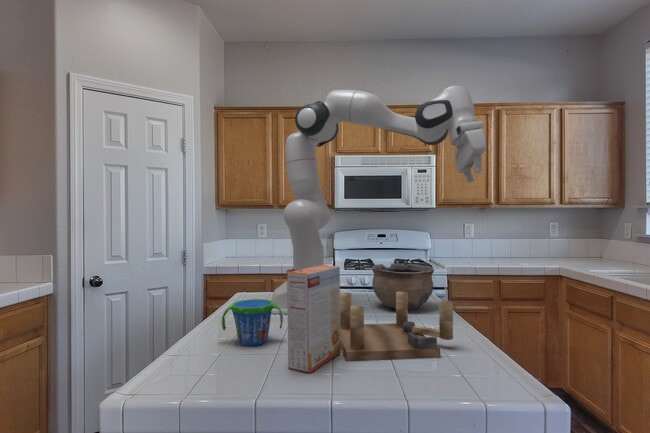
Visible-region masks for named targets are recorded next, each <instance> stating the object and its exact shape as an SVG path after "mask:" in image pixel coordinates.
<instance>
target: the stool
mask: <svg viewBox="0 0 650 433" xmlns="http://www.w3.org/2000/svg"><path fill="white" fill-rule="evenodd" d="M408 310H409V309H408V293H407V292H396V309H395V315H396V316H395V323H393V322H392V323H367V324H366V323H365V307H364V306H363V305H359V304H358V305H352V293H351V292H340V332H341V352H342V354H343V356H344V358H345V361H346V362H355V361H356V362H357V361H359V362H361V361H379V360H380V361H381V360H384V361H385V360H405V359H427V358H429V359H430V358H432V359H433V358H441V347H439V346H438V337H434V336H427V335H423V334H418V333H413V332H405V331H403V322H407V321H409V318H408V315H409V312H408Z"/></svg>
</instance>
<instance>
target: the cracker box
mask: <svg viewBox="0 0 650 433" xmlns="http://www.w3.org/2000/svg"><path fill="white" fill-rule="evenodd" d="M340 269H341V268H340V265H330V264H329V265H327V264H324V265H320V266H315V267H310V268H305V269H301V270H296V271H291V272H288V273H286V276H287V277H286V281H287V297H288V314H287V353H288V355H287V356H288V360H287V362H288V365H287V366H288V369H291V370H295V371H297V372H298V371H300V372H303V373H308V374H311V373H312V372H314V371H316V370H317V369H319V368H320V367H321V366H323V365H324V364H326V363H327V362H329V361H330V360H332V359H334V358H335V357H337V356H338V355H340V354H341V352H342V350H341V332H340V293H341V278H340V277H341V276H340V274H341V273H340V272H341V271H340Z"/></svg>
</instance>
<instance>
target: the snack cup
mask: <svg viewBox="0 0 650 433" xmlns="http://www.w3.org/2000/svg"><path fill="white" fill-rule="evenodd" d="M273 308H276V309H278V310H279V312H280V314H279V317H280V325H279V329H282V327H283V322H284V320H283V319H284V316H283V315H284V314H282V311H281V309H280V308H279V306H277V305H276V304H274V303H273V302H272V301H271V300H270V299H263V298H253V299H243V300H238V301H236V302H233V303H232V304H231V305H230V306H228V307H227V308H226V309H225V311H224V312H223V315H222V317H221V326H222V330H223V331H226V327H227V326H226V320H225V317H226V315H227V313H228V312H229V311H230V310H231V311H232V315H233V318H234V322H235V329H236V330H235V331H236V335H237V341H238V343H239V344H240V345H243V346H249V347H251V346H252V347H253V346H260V345H262V344H265V342H266V343H267V342H268V340H269V332H270V325H271V316H272V313H271V311H272V309H273Z"/></svg>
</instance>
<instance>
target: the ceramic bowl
mask: <svg viewBox="0 0 650 433" xmlns="http://www.w3.org/2000/svg"><path fill="white" fill-rule="evenodd" d="M371 270H372V273H373V275H372V276H373V277H372V281H371V282H372V289H373V292H374V294H375V295H376V297H377V298H378V300H379V301H380V302H381V303H382V304H383V305H384V306H386V307H387V308H391V309H395V310H396V292H407V293H408V310H413V309H417V308H419V307H421V306H422V305H424V303H426V302H427V301H428V300H429V298H430V297H431V295H432V294H433V290H434V281H433V280H434V279H433V274H434V272H435V269H434V268H433V267H431V266H427V265H421V264H416V263H407V264H406V265H405V264H404V263H399V262H397V263H390V266H389V267H387V266H385V265H384V264H382V263H381V264H374V265H373V266H371Z"/></svg>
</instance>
